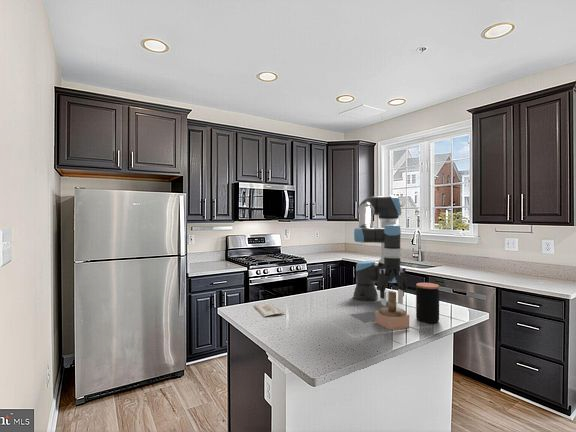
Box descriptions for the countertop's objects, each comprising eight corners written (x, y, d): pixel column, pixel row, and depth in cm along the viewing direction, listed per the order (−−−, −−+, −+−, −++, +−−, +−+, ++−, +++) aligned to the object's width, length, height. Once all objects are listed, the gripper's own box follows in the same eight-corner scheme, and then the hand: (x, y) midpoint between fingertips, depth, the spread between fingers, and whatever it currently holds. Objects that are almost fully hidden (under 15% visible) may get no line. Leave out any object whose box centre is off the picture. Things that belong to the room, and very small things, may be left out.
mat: (372, 312, 181) (372, 311, 181) (388, 320, 167) (388, 319, 167) (349, 315, 176) (349, 314, 176) (364, 323, 163) (364, 322, 163)
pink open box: (394, 320, 167) (394, 308, 167) (409, 327, 156) (409, 314, 156) (375, 323, 163) (375, 310, 163) (389, 330, 153) (389, 317, 153)
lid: (394, 308, 168) (394, 288, 168) (411, 315, 156) (411, 293, 156) (373, 310, 164) (373, 290, 164) (389, 317, 152) (389, 295, 152)
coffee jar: (421, 316, 174) (421, 281, 174) (442, 320, 167) (442, 284, 167) (412, 320, 167) (412, 284, 167) (433, 325, 159) (434, 288, 159)
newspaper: (286, 316, 177) (286, 311, 176) (264, 321, 172) (263, 316, 172) (273, 304, 198) (273, 300, 198) (253, 309, 194) (253, 304, 194)
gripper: (405, 255, 167) (405, 300, 167) (368, 257, 160) (368, 304, 160) (416, 257, 160) (416, 304, 160) (377, 259, 153) (377, 308, 153)
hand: (392, 304), depth 160 cm, fingers open, 9 cm apart
